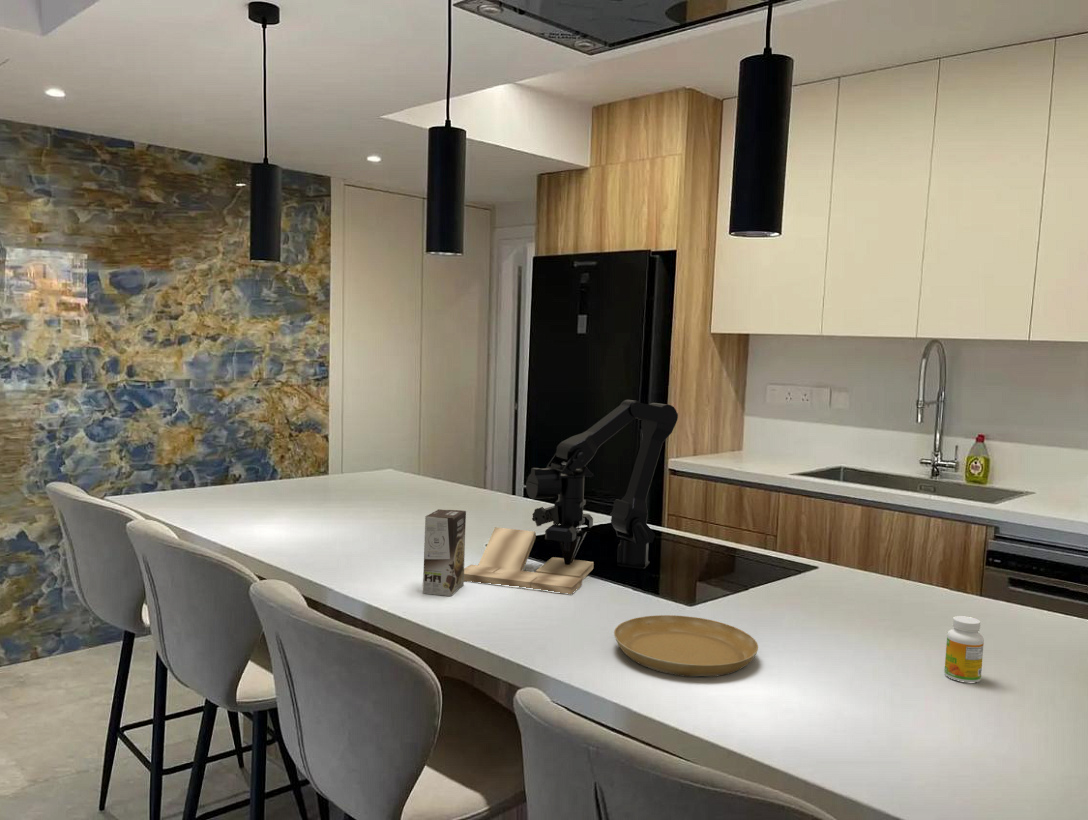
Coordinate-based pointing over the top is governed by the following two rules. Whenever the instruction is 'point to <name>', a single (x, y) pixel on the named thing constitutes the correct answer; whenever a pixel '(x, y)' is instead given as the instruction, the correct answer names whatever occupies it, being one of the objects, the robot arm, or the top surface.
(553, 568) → the near plank
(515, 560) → the far plank
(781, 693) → the top surface
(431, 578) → the coffee box
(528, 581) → the laid section
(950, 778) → the top surface
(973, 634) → the supplement bottle
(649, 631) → the plant saucer
